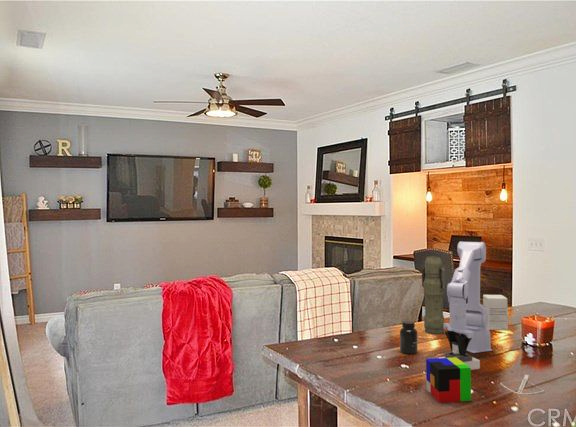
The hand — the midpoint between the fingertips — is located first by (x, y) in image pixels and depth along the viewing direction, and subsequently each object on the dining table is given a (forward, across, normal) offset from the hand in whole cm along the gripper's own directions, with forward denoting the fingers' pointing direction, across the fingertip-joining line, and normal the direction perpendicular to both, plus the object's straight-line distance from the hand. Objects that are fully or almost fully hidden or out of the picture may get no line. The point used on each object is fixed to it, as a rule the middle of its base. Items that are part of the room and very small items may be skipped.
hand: (458, 352), depth 173 cm
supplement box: (+6, -40, +51) cm, 65 cm away
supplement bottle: (+5, -22, -7) cm, 24 cm away
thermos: (+5, -44, +20) cm, 49 cm away
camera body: (+5, 0, 0) cm, 5 cm away
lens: (+2, 0, 0) cm, 2 cm away
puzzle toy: (+6, +20, -19) cm, 28 cm away
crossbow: (+6, +22, +8) cm, 24 cm away
